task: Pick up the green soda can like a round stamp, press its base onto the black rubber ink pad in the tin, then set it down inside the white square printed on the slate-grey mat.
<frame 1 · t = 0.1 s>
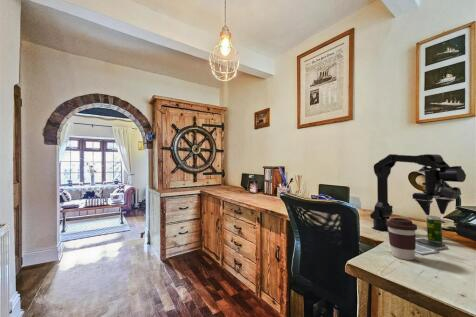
hand: (435, 214, 94), 15 cm above the table, fingers open, 9 cm apart
ink pad: (428, 245, 94), on the table
coffee cup: (402, 257, 83), on the table
mat: (417, 249, 90), on the table
green soda can: (435, 241, 100), on the table
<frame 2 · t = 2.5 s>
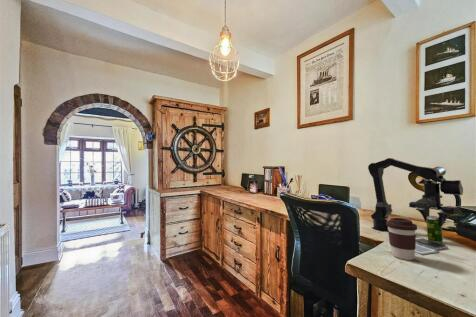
hand: (434, 224, 100), 8 cm above the table, fingers closed on green soda can, 5 cm apart
green soda can: (435, 241, 100), on the table, touching gripper
everything else where it was.
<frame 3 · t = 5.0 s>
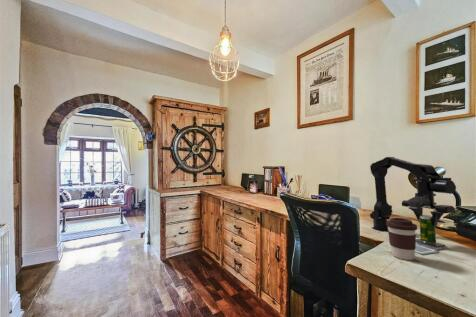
hand: (427, 224, 95), 10 cm above the table, fingers closed on green soda can, 5 cm apart
green soda can: (428, 242, 95), point 1 cm above the table, touching gripper, ink pad
everything else where it was.
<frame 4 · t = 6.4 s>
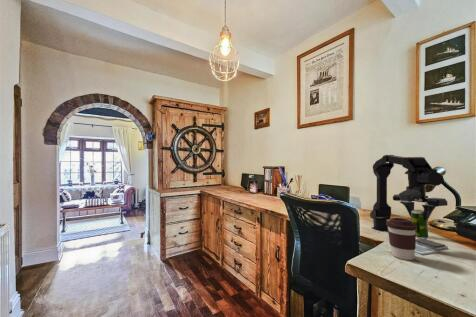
hand: (418, 218, 91), 13 cm above the table, fingers closed on green soda can, 5 cm apart
green soda can: (420, 237, 91), point 5 cm above the table, touching gripper
everything else where it was.
when the fingers open (9 cm above the table, at t = 7.6 s): green soda can stays where it is, resting on mat.
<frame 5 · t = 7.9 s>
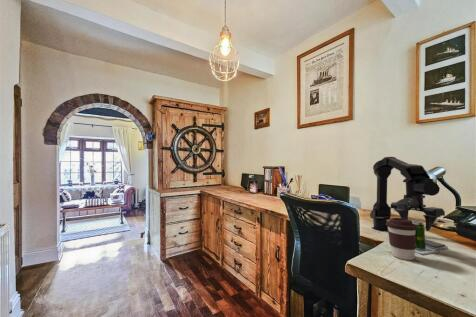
hand: (416, 227, 91), 9 cm above the table, fingers open, 9 cm apart
green soda can: (417, 248, 90), resting on mat
everything else where it was.
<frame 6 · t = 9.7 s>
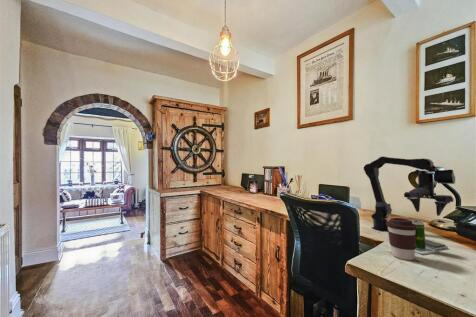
hand: (427, 213, 103), 13 cm above the table, fingers open, 9 cm apart
nothing on the table moved.
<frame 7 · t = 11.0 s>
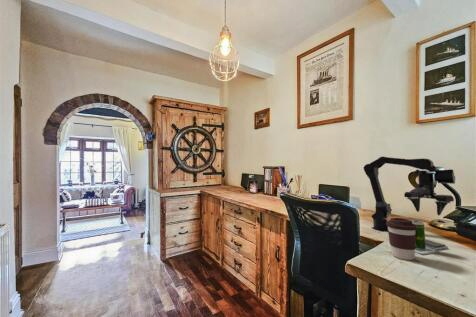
hand: (427, 213, 103), 13 cm above the table, fingers open, 9 cm apart
nothing on the table moved.
at the end: green soda can 0.3 cm off-centre on the mat, point 0.2 cm above the mat's base; green soda can tilted 0°; the gripper is holding nothing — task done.
